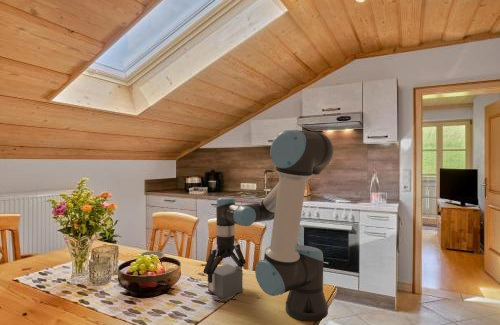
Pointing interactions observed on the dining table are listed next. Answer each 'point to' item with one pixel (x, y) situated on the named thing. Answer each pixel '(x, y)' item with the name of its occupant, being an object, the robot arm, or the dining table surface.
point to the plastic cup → (154, 254)
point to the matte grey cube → (227, 281)
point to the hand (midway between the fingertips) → (225, 285)
